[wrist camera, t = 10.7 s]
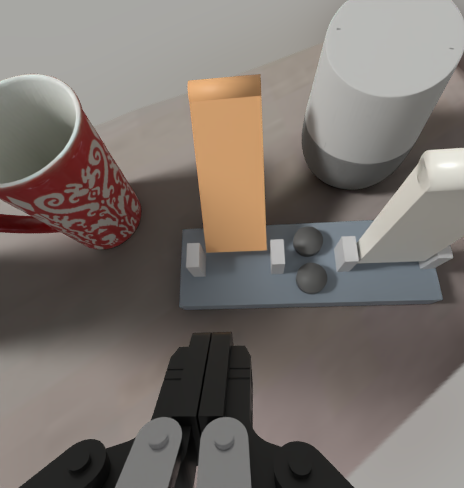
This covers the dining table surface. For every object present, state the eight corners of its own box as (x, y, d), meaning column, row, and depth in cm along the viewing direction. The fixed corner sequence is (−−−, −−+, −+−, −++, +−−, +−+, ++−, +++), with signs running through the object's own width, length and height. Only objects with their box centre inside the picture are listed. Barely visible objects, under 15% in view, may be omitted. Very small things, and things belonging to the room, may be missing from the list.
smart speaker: (286, 183, 32) (300, 62, 19) (313, 112, 35) (341, -38, 22) (383, 211, 30) (473, 97, 17) (404, 133, 33) (496, -18, 20)
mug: (134, 164, 35) (60, 52, 22) (164, 233, 32) (96, 149, 19) (25, 214, 34) (-117, 128, 21) (44, 289, 31) (-110, 241, 18)
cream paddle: (357, 265, 25) (441, 178, 13) (354, 243, 26) (432, 141, 14) (424, 263, 25) (576, 170, 13) (419, 240, 25) (560, 132, 13)
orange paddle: (206, 253, 27) (186, 79, 22) (208, 245, 28) (191, 81, 23) (266, 251, 26) (260, 72, 21) (266, 242, 28) (260, 75, 23)
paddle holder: (184, 309, 29) (169, 300, 24) (187, 237, 31) (173, 215, 27) (430, 303, 27) (465, 292, 22) (413, 226, 29) (441, 201, 25)
